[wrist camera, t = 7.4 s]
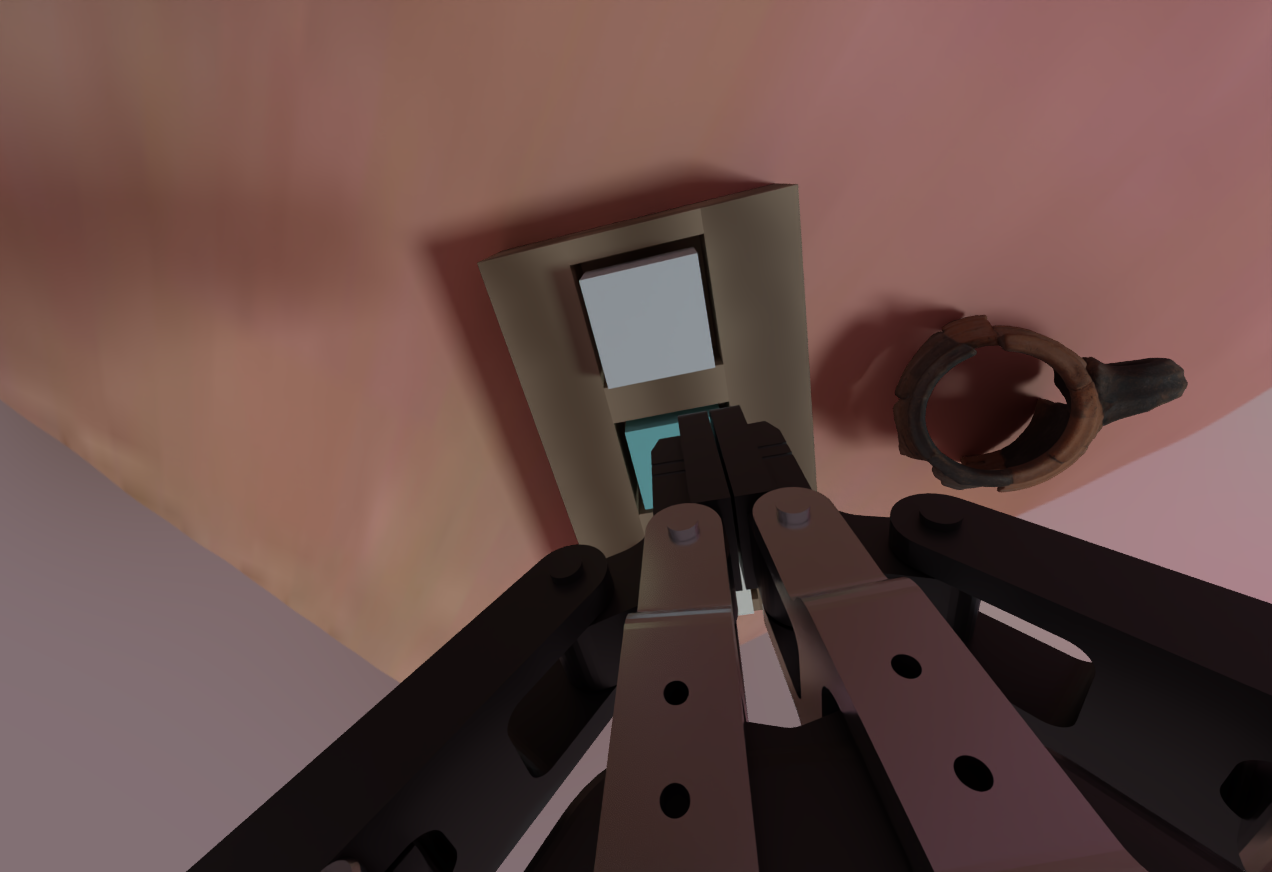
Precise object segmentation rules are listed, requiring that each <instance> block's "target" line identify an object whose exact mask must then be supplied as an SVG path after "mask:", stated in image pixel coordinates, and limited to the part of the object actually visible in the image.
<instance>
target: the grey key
mask: <svg viewBox="0 0 1272 872" xmlns="http://www.w3.org/2000/svg"><path fill="white" fill-rule="evenodd" d="M579 283H580V286H581V290H582V294H583V297H584V301H585V305H586V308H587V312H588V316H589V319H590V323H591V327H592V330H593V334H594V338H595V341H596V345H597V349H598V352H599V356H600V360H601V363H602V367H603V371H604V374H605V378H606V382H607V385H608V389H611V388H616V387H621V386H626V385H631V384H636V383H641V382H646V381H651V380H656V379H661V378H666V377H671V376H676V375H681V374H686V373H691V372H696V371H701V370H706V369H711V368H715V362H714V356H713V349H712V343H711V337H710V330H709V324H708V318H707V311H706V305H705V299H704V292H703V286H702V280H701V273H700V267H699V261H698V254H697V252H696V250H695V249H694V247H689V248H684V249H680V250H676V251H672V252H667V253H663V254H659V255H655V256H650V257H646V258H642V259H638V260H633V261H629V262H625V263H621V264H616V265H612V266H608V267H604V268H599V269H595V270H591V271H587V272H585V273H584V274H583V276H582V277H581V279H580V280H579Z"/></svg>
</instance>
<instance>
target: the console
mask: <svg viewBox="0 0 1272 872" xmlns="http://www.w3.org/2000/svg"><path fill="white" fill-rule="evenodd" d="M689 247H694V249H695V250H696V252H697V254H698V261H699V267H700V273H701V280H702V286H703V292H704V299H705V305H706V311H707V318H708V324H709V330H710V337H711V343H712V349H713V356H714V362H715V368H711V369H706V370H701V371H696V372H691V373H686V374H681V375H676V376H671V377H666V378H661V379H656V380H651V381H646V382H641V383H636V384H631V385H626V386H621V387H616V388H611V389H608V385H607V382H606V378H605V374H604V371H603V367H602V363H601V360H600V356H599V352H598V349H597V345H596V341H595V338H594V334H593V330H592V327H591V323H590V319H589V316H588V312H587V308H586V305H585V301H584V297H583V294H582V290H581V286H580V283H579V280H580V279H581V277H582V276H583V274H584V273H585V272H587V271H591V270H595V269H599V268H604V267H608V266H612V265H616V264H621V263H625V262H629V261H633V260H638V259H642V258H646V257H650V256H655V255H659V254H663V253H667V252H672V251H676V250H680V249H684V248H689ZM477 264H478V267H479V270H480V273H481V275H482V278H483V281H484V284H485V286H486V289H487V292H488V295H489V297H490V300H491V303H492V306H493V308H494V311H495V314H496V317H497V319H498V322H499V325H500V328H501V331H502V333H503V336H504V339H505V342H506V344H507V347H508V350H509V353H510V355H511V358H512V361H513V364H514V366H515V369H516V372H517V375H518V377H519V380H520V383H521V386H522V388H523V391H524V394H525V397H526V400H527V402H528V405H529V408H530V411H531V413H532V416H533V419H534V422H535V424H536V427H537V430H538V433H539V435H540V438H541V441H542V444H543V446H544V449H545V452H546V455H547V458H548V460H549V463H550V466H551V469H552V471H553V474H554V477H555V480H556V482H557V485H558V488H559V491H560V493H561V496H562V499H563V502H564V504H565V507H566V510H567V513H568V516H569V518H570V521H571V524H572V527H573V529H574V532H575V535H576V538H577V540H578V543H579V544H581V545H590V546H593V547H595V548H597V549H599V550H600V551H601V552H602V553H603V554H604V555H605V557H606V558H608V557H610V556H613V555H615V554H618V553H620V552H623V551H625V550H627V549H629V548H631V547H633V546H634V545H636V544H637V543H639V542H640V541H641V540H642V539H643V538H644V537H645V530H646V526H647V524H648V522H649V521H650V519H651V518H652V517H653V508H651V509H645V506H644V503H643V499H642V495H641V492H640V488H639V484H638V480H637V477H636V473H635V469H634V465H633V462H632V458H631V454H630V450H629V447H628V443H627V439H626V436H625V426H626V421H629V420H634V419H640V418H645V417H650V416H655V415H660V414H666V413H671V412H676V411H681V410H687V409H692V408H697V407H702V406H708V405H713V404H718V405H719V408H724V407H730V406H735V405H740V407H741V409H742V412H743V414H744V417H745V419H746V421H747V424H750V423H755V422H761V421H766V422H768V423H770V424H771V425H773V426H774V427H776V428H778V429H779V430H780V431H781V433H782V435H783V437H784V438H785V440H786V443H787V444H788V446H789V448H790V450H791V451H792V455H794V457H795V459H796V461H797V463H798V464H799V466H800V468H801V470H802V472H803V474H804V476H805V478H806V479H807V481H808V483H809V485H810V487H811V489H812V490H814V491H817V483H816V467H815V451H814V435H813V419H812V403H811V387H810V371H809V354H808V338H807V322H806V306H805V290H804V274H803V258H802V242H801V225H800V209H799V193H798V184H772V185H767V186H763V187H759V188H755V189H751V190H747V191H743V192H739V193H735V194H731V195H727V196H723V197H719V198H715V199H711V200H707V201H703V202H699V203H695V204H691V205H686V206H682V207H678V208H674V209H670V210H666V211H662V212H658V213H654V214H650V215H646V216H642V217H638V218H634V219H630V220H626V221H622V222H618V223H614V224H610V225H605V226H601V227H597V228H593V229H589V230H585V231H581V232H577V233H573V234H569V235H565V236H561V237H557V238H553V239H549V240H545V241H541V242H537V243H533V244H529V245H524V246H520V247H516V248H512V249H508V250H504V251H501V252H499V253H497V254H495V255H493V256H491V257H488V258H486V259H484V260H482V261H480V262H478V263H477ZM750 590H751V596H752V603H753V609H754V611H756V610H763V606H762V600H761V596H760V593H759V589H758V588H756V589H750Z"/></svg>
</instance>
